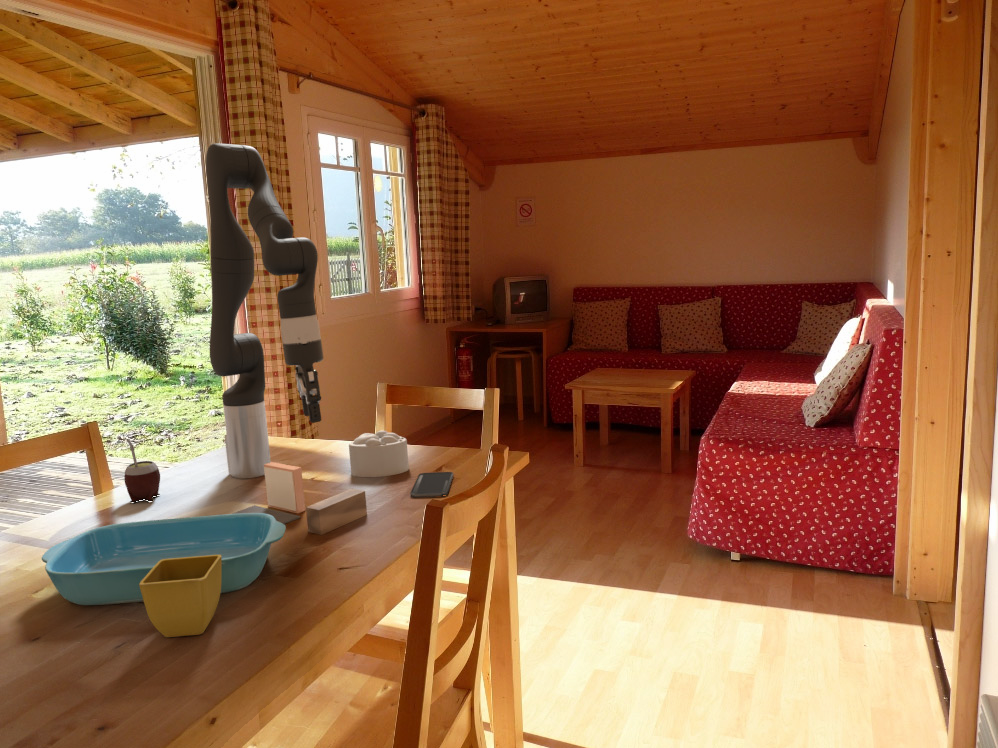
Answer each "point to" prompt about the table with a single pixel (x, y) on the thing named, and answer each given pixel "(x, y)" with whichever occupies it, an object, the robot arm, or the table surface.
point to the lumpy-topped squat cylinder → (378, 455)
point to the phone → (432, 484)
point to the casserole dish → (158, 554)
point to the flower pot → (182, 594)
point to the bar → (336, 511)
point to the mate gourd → (141, 479)
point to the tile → (284, 487)
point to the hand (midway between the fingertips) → (312, 418)
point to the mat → (270, 513)
